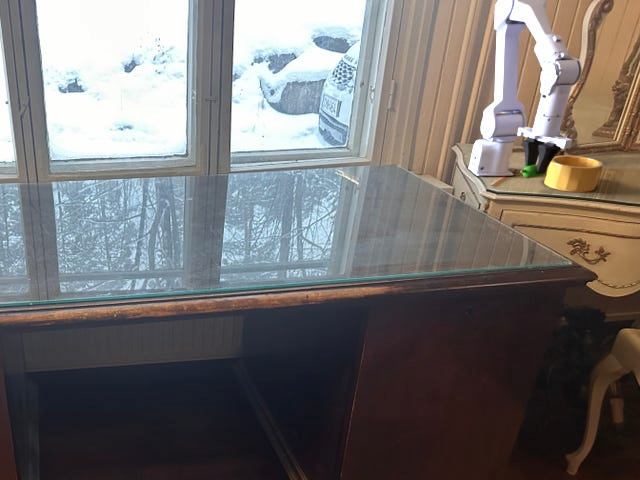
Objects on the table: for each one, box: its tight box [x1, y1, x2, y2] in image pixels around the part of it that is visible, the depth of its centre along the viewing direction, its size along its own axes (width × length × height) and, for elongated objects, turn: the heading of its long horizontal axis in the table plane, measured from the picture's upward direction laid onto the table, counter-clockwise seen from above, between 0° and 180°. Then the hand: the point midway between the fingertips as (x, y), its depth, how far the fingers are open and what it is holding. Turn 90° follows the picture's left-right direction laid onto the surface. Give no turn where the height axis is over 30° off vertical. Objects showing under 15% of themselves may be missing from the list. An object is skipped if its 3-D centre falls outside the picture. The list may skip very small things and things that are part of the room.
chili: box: [519, 165, 547, 179], centre depth 168 cm, size 8×3×3 cm, turn 109°
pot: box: [544, 155, 604, 193], centre depth 173 cm, size 12×12×6 cm
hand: (534, 171), depth 168 cm, fingers closed on chili, 3 cm apart
